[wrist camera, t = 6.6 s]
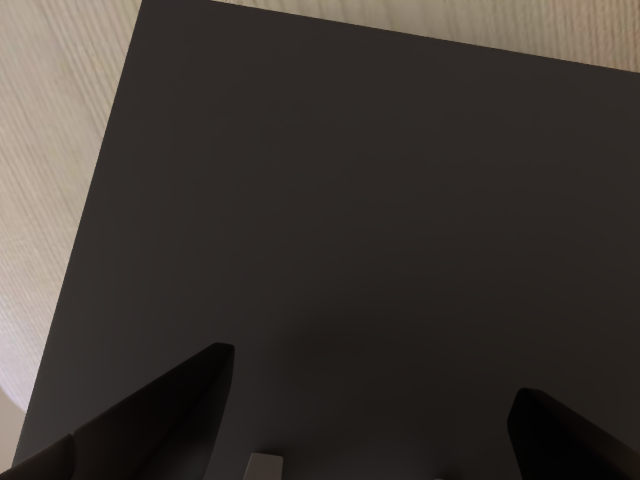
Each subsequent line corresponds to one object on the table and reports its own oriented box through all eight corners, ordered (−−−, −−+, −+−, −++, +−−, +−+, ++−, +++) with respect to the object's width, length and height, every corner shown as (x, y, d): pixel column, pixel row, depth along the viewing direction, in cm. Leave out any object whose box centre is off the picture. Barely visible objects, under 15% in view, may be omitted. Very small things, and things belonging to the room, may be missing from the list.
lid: (650, 607, 9) (1091, 966, 4) (16, 522, 9) (-371, 799, 4) (639, 92, 12) (894, -78, 7) (154, 10, 12) (42, -234, 6)
